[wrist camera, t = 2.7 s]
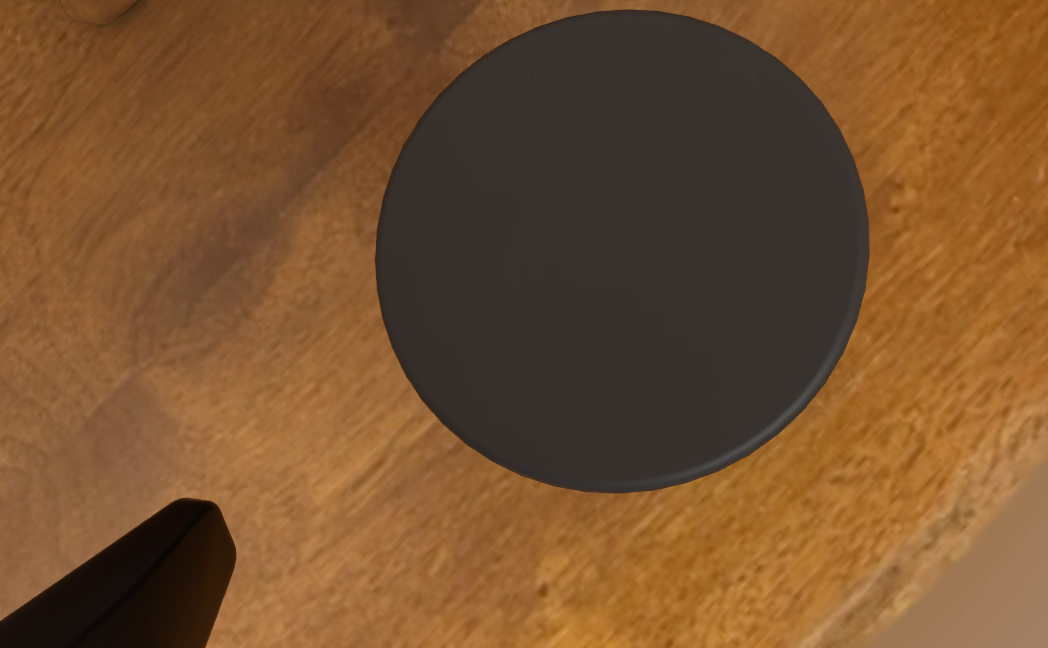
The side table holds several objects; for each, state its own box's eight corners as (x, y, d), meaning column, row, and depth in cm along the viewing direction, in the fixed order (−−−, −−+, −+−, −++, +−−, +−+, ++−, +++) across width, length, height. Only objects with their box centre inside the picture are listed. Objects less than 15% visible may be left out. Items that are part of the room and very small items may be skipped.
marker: (794, 399, 18) (990, 257, 5) (669, 502, 19) (573, 604, 6) (687, 280, 19) (637, -89, 6) (569, 380, 20) (281, 223, 6)
